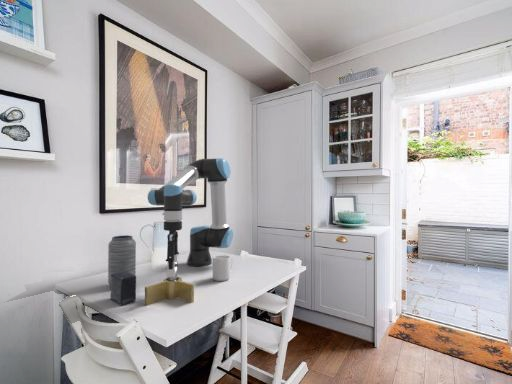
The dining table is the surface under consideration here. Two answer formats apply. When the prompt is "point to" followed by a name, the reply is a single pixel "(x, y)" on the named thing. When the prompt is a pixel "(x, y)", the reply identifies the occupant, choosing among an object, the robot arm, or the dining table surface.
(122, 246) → the vase
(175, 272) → the pin
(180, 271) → the dining table surface
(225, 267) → the mug
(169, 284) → the hinge
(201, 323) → the dining table surface
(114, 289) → the small box
